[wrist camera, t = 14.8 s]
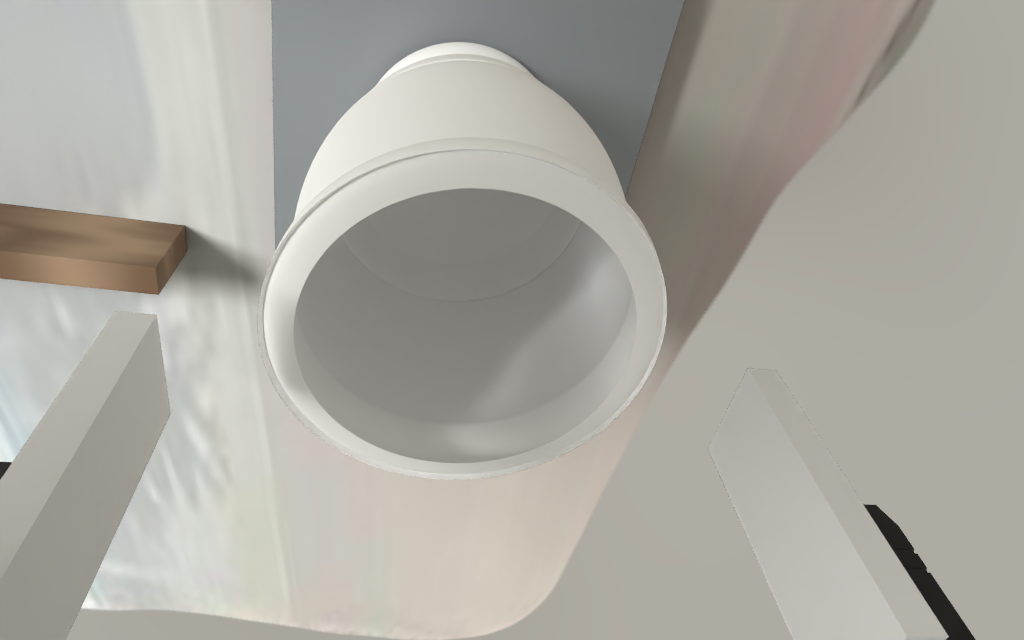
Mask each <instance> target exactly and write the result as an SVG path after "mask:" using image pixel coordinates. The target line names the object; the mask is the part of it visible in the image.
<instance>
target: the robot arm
mask: <svg viewBox="0 0 1024 640" xmlns="http://www.w3.org/2000/svg"><path fill="white" fill-rule="evenodd" d="M170 414H171V413H170V406H169V399H168V392H167V385H166V378H165V371H164V364H163V357H162V350H161V343H160V336H159V329H158V322H157V315H155V314H144V313H133V312H122V311H115V312H114V314H113V315H112V317H111V318H110V320H109V321H108V323H107V324H106V326H105V327H104V329H103V330H102V331H101V333H100V334H99V336H98V337H97V339H96V340H95V342H94V343H93V345H92V346H91V348H90V349H89V351H88V352H87V353H86V355H85V356H84V358H83V359H82V361H81V362H80V364H79V365H78V367H77V368H76V370H75V371H74V373H73V374H72V375H71V377H70V378H69V380H68V381H67V383H66V384H65V386H64V387H63V389H62V390H61V392H60V393H59V395H58V396H57V398H56V399H55V400H54V402H53V403H52V405H51V406H50V408H49V409H48V411H47V412H46V414H45V415H44V417H43V418H42V420H41V421H40V422H39V424H38V425H37V427H36V428H35V430H34V431H33V433H32V434H31V436H30V437H29V439H28V440H27V442H26V443H25V445H24V446H23V447H22V449H21V450H20V452H19V453H18V455H17V456H16V458H15V459H14V461H13V462H0V640H66V639H67V637H68V635H69V632H70V630H71V628H72V626H73V624H74V622H75V619H76V617H77V615H78V613H79V611H80V609H81V606H82V604H83V602H84V600H85V598H86V596H87V594H88V591H89V589H90V587H91V585H92V583H93V581H94V578H95V576H96V574H97V572H98V570H99V568H100V565H101V563H102V561H103V559H104V557H105V555H106V552H107V550H108V548H109V546H110V544H111V542H112V539H113V537H114V535H115V533H116V531H117V529H118V526H119V524H120V522H121V520H122V518H123V516H124V513H125V511H126V509H127V507H128V505H129V503H130V500H131V498H132V496H133V494H134V492H135V490H136V487H137V485H138V483H139V481H140V479H141V477H142V475H143V472H144V470H145V468H146V466H147V464H148V462H149V459H150V457H151V455H152V453H153V451H154V449H155V446H156V444H157V442H158V440H159V438H160V436H161V433H162V431H163V429H164V427H165V425H166V423H167V420H168V418H169V416H170ZM708 451H709V453H710V455H711V457H712V459H713V462H714V464H715V466H716V469H717V471H718V473H719V475H720V478H721V480H722V482H723V484H724V486H725V489H726V491H727V493H728V495H729V497H730V500H731V502H732V504H733V506H734V509H735V511H736V513H737V515H738V518H739V520H740V522H741V524H742V527H743V529H744V531H745V533H746V535H747V538H748V540H749V542H750V544H751V546H752V549H753V551H754V553H755V555H756V558H757V560H758V562H759V564H760V567H761V569H762V571H763V573H764V575H765V578H766V580H767V582H768V584H769V587H770V589H771V591H772V593H773V595H774V598H775V600H776V602H777V604H778V606H779V609H780V611H781V613H782V616H783V618H784V620H785V622H786V624H787V627H788V629H789V631H790V633H791V636H792V638H793V640H975V638H974V637H973V635H972V634H971V632H970V631H969V629H968V628H967V626H966V625H965V623H964V622H963V621H962V619H961V618H960V616H959V615H958V613H957V612H956V610H955V609H954V607H953V606H952V604H951V603H950V601H949V600H948V598H947V597H946V595H945V594H944V593H943V591H942V590H941V588H940V587H939V585H938V584H937V582H936V581H935V579H934V578H933V576H932V575H931V573H928V572H927V571H926V569H927V568H926V566H925V564H924V563H923V561H922V560H921V559H920V557H919V556H918V554H915V553H914V548H913V547H912V545H911V544H910V542H909V541H908V540H907V538H906V536H905V535H904V533H903V532H902V531H901V529H900V528H899V526H898V525H897V524H896V523H894V521H893V520H891V519H890V518H889V517H888V516H887V515H886V514H885V513H884V512H883V511H882V510H880V508H879V507H877V506H876V505H864V504H863V503H862V502H861V500H860V499H859V497H858V496H857V494H856V492H855V491H854V489H853V488H852V486H851V485H850V483H849V482H848V480H847V479H846V477H845V476H844V474H843V472H842V471H841V469H840V468H839V466H838V465H837V463H836V462H835V460H834V458H833V457H832V455H831V454H830V452H829V451H828V449H827V448H826V446H825V445H824V443H823V441H822V440H821V438H820V437H819V435H818V434H817V432H816V431H815V429H814V427H813V426H812V424H811V423H810V421H809V420H808V418H807V417H806V415H805V414H804V412H803V410H802V409H801V407H800V406H799V404H798V403H797V401H796V400H795V398H794V397H793V395H792V393H791V392H790V390H789V389H788V387H787V386H786V384H785V383H784V381H783V380H782V378H781V376H780V375H779V374H778V372H777V371H774V370H764V369H763V370H762V369H753V368H748V369H747V370H746V373H745V375H744V377H743V379H742V381H741V383H740V385H739V387H738V389H737V391H736V393H735V395H734V397H733V399H732V401H731V403H730V405H729V407H728V409H727V411H726V413H725V415H724V417H723V419H722V421H721V423H720V425H719V427H718V429H717V431H716V433H715V435H714V437H713V439H712V441H711V443H710V445H709V447H708Z"/></svg>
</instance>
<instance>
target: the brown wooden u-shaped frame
mask: <svg viewBox="0 0 1024 640" xmlns="http://www.w3.org/2000/svg"><path fill="white" fill-rule="evenodd" d="M186 252H187V244H186V234H185V226H183V225H174V224H166V223H158V222H149V221H141V220H133V219H124V218H116V217H108V216H99V215H91V214H83V213H74V212H66V211H58V210H49V209H41V208H33V207H24V206H16V205H8V204H0V278H2V279H11V280H21V281H31V282H41V283H50V284H60V285H70V286H80V287H89V288H99V289H109V290H118V291H128V292H138V293H148V294H157V295H159V294H160V292H161V290H162V289H163V287H164V286H165V284H166V283H167V281H168V280H169V278H170V277H171V275H172V274H173V272H174V271H175V269H176V267H177V266H178V264H179V263H180V261H181V260H182V258H183V257H184V255H185V254H186Z"/></svg>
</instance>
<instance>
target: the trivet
mask: <svg viewBox="0 0 1024 640" xmlns="http://www.w3.org/2000/svg"><path fill="white" fill-rule="evenodd" d="M271 4H272V69H273V135H274V200H275V251H276V249H277V247H278V245H279V243H280V241H281V240H282V238H283V236H284V234H285V233H286V231H287V230H288V228H289V227H290V225H291V224H292V223H293V221H294V218H295V213H296V208H297V204H298V200H299V196H300V193H301V190H302V187H303V184H304V181H305V178H306V176H307V173H308V171H309V169H310V166H311V164H312V162H313V160H314V158H315V156H316V154H317V152H318V150H319V149H320V147H321V145H322V144H323V142H324V140H325V139H326V137H327V136H328V134H329V133H330V131H331V130H332V129H333V127H334V126H335V125H336V124H337V122H338V121H339V120H340V119H341V118H342V116H343V115H344V114H345V113H346V112H347V111H348V110H349V109H350V108H351V107H352V106H353V105H354V104H355V103H356V102H357V101H358V100H360V99H361V98H362V97H363V96H364V95H366V94H367V93H368V92H369V91H370V90H371V89H373V88H374V87H375V86H376V85H377V83H378V82H379V81H380V79H381V78H382V77H383V76H384V75H385V74H386V72H387V71H388V70H389V69H391V68H392V67H393V66H394V65H395V64H396V63H398V62H399V61H400V60H402V59H403V58H405V57H406V56H408V55H410V54H412V53H414V52H416V51H418V50H420V49H423V48H426V47H429V46H432V45H436V44H441V43H449V42H468V43H476V44H481V45H485V46H488V47H491V48H494V49H497V50H499V51H501V52H503V53H505V54H507V55H509V56H510V57H512V58H513V59H515V60H516V61H518V62H519V63H520V64H522V65H523V66H524V67H525V68H526V69H527V70H528V71H529V72H530V73H531V74H532V75H533V76H534V77H535V78H536V79H537V80H539V81H540V82H541V83H543V84H544V85H546V86H547V87H549V88H550V89H552V90H553V91H554V92H556V93H557V94H558V95H559V96H561V97H562V98H563V99H564V100H565V101H566V102H568V103H569V104H570V105H571V106H572V107H573V108H574V109H575V110H576V111H577V112H578V113H579V114H580V116H581V117H582V118H583V119H584V120H585V121H586V123H587V124H588V125H589V126H590V128H591V129H592V130H593V132H594V133H595V135H596V136H597V138H598V139H599V141H600V142H601V144H602V146H603V147H604V149H605V151H606V152H607V154H608V156H609V158H610V160H611V162H612V164H613V167H614V169H615V171H616V174H617V176H618V179H619V181H620V184H621V187H622V190H623V193H624V196H625V197H626V193H627V190H628V187H629V183H630V180H631V177H632V173H633V170H634V167H635V163H636V160H637V157H638V153H639V150H640V147H641V143H642V140H643V137H644V133H645V130H646V127H647V123H648V120H649V117H650V113H651V110H652V107H653V103H654V100H655V97H656V93H657V90H658V87H659V83H660V80H661V77H662V73H663V70H664V67H665V64H666V60H667V57H668V54H669V50H670V47H671V44H672V40H673V37H674V34H675V30H676V27H677V24H678V20H679V17H680V14H681V10H682V7H683V4H684V0H271Z"/></svg>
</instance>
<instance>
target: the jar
mask: <svg viewBox="0 0 1024 640" xmlns="http://www.w3.org/2000/svg"><path fill="white" fill-rule="evenodd" d="M666 319H667V295H666V287H665V281H664V277H663V273H662V269H661V265H660V261H659V258H658V255H657V252H656V249H655V247H654V245H653V242H652V240H651V238H650V236H649V234H648V232H647V230H646V228H645V227H644V225H643V223H642V222H641V220H640V219H639V217H638V216H637V214H636V213H635V212H634V211H633V209H632V208H631V207H630V206H629V204H628V203H627V202H626V200H625V196H624V193H623V190H622V187H621V184H620V181H619V179H618V176H617V174H616V171H615V169H614V167H613V164H612V162H611V160H610V158H609V156H608V154H607V152H606V151H605V149H604V147H603V146H602V144H601V142H600V141H599V139H598V138H597V136H596V135H595V133H594V132H593V130H592V129H591V128H590V126H589V125H588V124H587V123H586V121H585V120H584V119H583V118H582V117H581V116H580V114H579V113H578V112H577V111H576V110H575V109H574V108H573V107H572V106H571V105H570V104H569V103H568V102H566V101H565V100H564V99H563V98H562V97H561V96H559V95H558V94H557V93H556V92H554V91H553V90H552V89H550V88H549V87H547V86H546V85H544V84H543V83H541V82H540V81H539V80H537V79H536V78H535V77H534V76H533V75H532V74H531V73H530V72H529V71H528V70H527V69H526V68H525V67H524V66H523V65H522V64H520V63H519V62H518V61H516V60H515V59H513V58H512V57H510V56H509V55H507V54H505V53H503V52H501V51H499V50H497V49H494V48H491V47H488V46H485V45H481V44H476V43H468V42H449V43H441V44H436V45H432V46H429V47H426V48H423V49H420V50H418V51H416V52H414V53H412V54H410V55H408V56H406V57H405V58H403V59H402V60H400V61H399V62H398V63H396V64H395V65H394V66H393V67H392V68H391V69H389V70H388V71H387V72H386V74H385V75H384V76H383V77H382V78H381V79H380V81H379V82H378V83H377V85H376V86H375V87H374V88H373V89H371V90H370V91H369V92H368V93H367V94H366V95H364V96H363V97H362V98H361V99H360V100H358V101H357V102H356V103H355V104H354V105H353V106H352V107H351V108H350V109H349V110H348V111H347V112H346V113H345V114H344V115H343V116H342V118H341V119H340V120H339V121H338V122H337V124H336V125H335V126H334V127H333V129H332V130H331V131H330V133H329V134H328V136H327V137H326V139H325V140H324V142H323V144H322V145H321V147H320V149H319V150H318V152H317V154H316V156H315V158H314V160H313V162H312V164H311V166H310V169H309V171H308V173H307V176H306V178H305V181H304V184H303V187H302V190H301V193H300V196H299V200H298V204H297V208H296V213H295V218H294V221H293V223H292V224H291V225H290V227H289V228H288V230H287V231H286V233H285V234H284V236H283V238H282V240H281V241H280V243H279V245H278V247H277V249H276V251H275V254H274V256H273V259H272V261H271V263H270V265H269V267H268V270H267V272H266V275H265V278H264V281H263V284H262V288H261V292H260V297H259V304H258V314H257V330H258V340H259V346H260V351H261V355H262V359H263V362H264V365H265V368H266V370H267V373H268V375H269V377H270V380H271V382H272V384H273V386H274V387H275V389H276V391H277V393H278V394H279V396H280V397H281V399H282V400H283V402H284V403H285V404H286V406H287V407H288V408H289V409H290V411H291V412H292V413H293V414H294V415H295V416H296V418H297V419H298V420H299V421H300V422H301V423H302V424H303V425H304V426H306V427H307V428H308V429H309V430H310V431H311V432H312V433H314V434H315V435H316V436H317V437H319V438H320V439H321V440H323V441H324V442H326V443H327V444H329V445H330V446H332V447H333V448H335V449H337V450H338V451H340V452H342V453H344V454H346V455H348V456H350V457H352V458H354V459H356V460H358V461H361V462H363V463H365V464H368V465H371V466H373V467H376V468H379V469H383V470H386V471H390V472H393V473H398V474H402V475H407V476H413V477H419V478H428V479H441V480H466V479H479V478H487V477H494V476H500V475H505V474H510V473H514V472H518V471H521V470H525V469H528V468H531V467H534V466H537V465H540V464H543V463H545V462H548V461H550V460H553V459H555V458H557V457H559V456H561V455H563V454H565V453H567V452H569V451H571V450H573V449H575V448H577V447H578V446H580V445H582V444H583V443H585V442H586V441H588V440H589V439H591V438H592V437H594V436H595V435H596V434H598V433H599V432H600V431H602V430H603V429H604V428H605V427H607V426H608V425H609V424H610V423H611V422H612V421H613V420H615V419H616V418H617V417H618V416H619V415H620V414H621V413H622V412H623V411H624V410H625V408H626V407H627V406H628V405H629V404H630V403H631V402H632V400H633V399H634V398H635V396H636V395H637V394H638V392H639V391H640V390H641V388H642V387H643V385H644V383H645V382H646V380H647V378H648V377H649V375H650V373H651V371H652V369H653V367H654V365H655V362H656V360H657V357H658V355H659V352H660V349H661V346H662V342H663V338H664V333H665V328H666Z"/></svg>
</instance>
